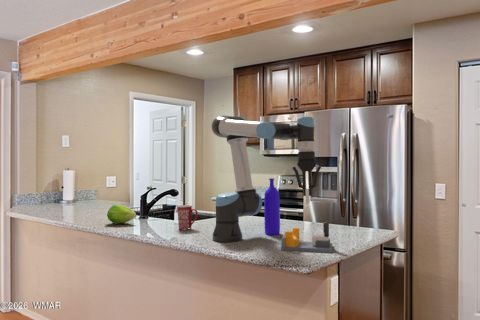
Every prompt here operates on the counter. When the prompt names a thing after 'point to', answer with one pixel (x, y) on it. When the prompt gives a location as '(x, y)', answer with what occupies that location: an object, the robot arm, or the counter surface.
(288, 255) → the counter surface
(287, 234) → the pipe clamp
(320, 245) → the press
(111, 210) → the green papaya
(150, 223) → the counter surface
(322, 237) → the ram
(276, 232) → the bottle
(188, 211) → the mug
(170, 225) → the counter surface
